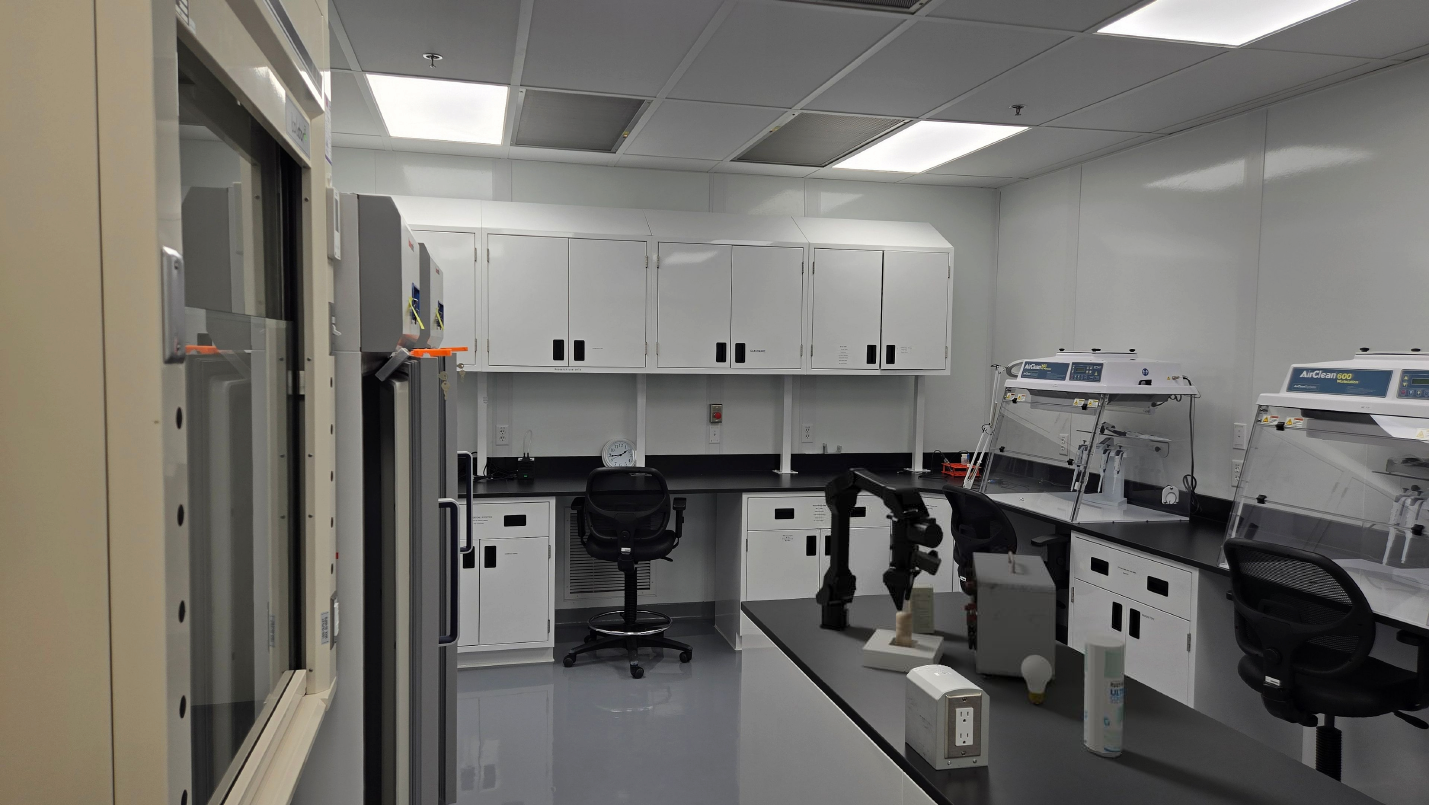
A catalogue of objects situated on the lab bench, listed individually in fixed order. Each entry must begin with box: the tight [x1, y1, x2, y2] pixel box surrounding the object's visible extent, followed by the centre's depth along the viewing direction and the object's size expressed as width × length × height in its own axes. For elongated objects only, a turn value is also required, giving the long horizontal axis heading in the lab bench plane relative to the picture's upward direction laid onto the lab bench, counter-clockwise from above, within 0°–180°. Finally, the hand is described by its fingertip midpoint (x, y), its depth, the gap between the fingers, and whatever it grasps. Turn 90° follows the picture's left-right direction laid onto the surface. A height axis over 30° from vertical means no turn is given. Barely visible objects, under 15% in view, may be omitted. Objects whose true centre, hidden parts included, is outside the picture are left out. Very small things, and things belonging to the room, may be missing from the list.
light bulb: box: [1021, 655, 1052, 704], centre depth 168 cm, size 6×6×10 cm
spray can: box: [1083, 634, 1126, 753], centre depth 147 cm, size 6×6×20 cm
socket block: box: [861, 628, 944, 673], centre depth 194 cm, size 16×16×4 cm
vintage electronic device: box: [964, 550, 1057, 683], centre depth 194 cm, size 32×18×25 cm, turn 164°
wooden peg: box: [895, 611, 912, 648], centre depth 194 cm, size 4×4×10 cm
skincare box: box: [907, 583, 935, 634], centre depth 215 cm, size 6×4×12 cm
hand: (903, 605), depth 194 cm, fingers open, 9 cm apart
